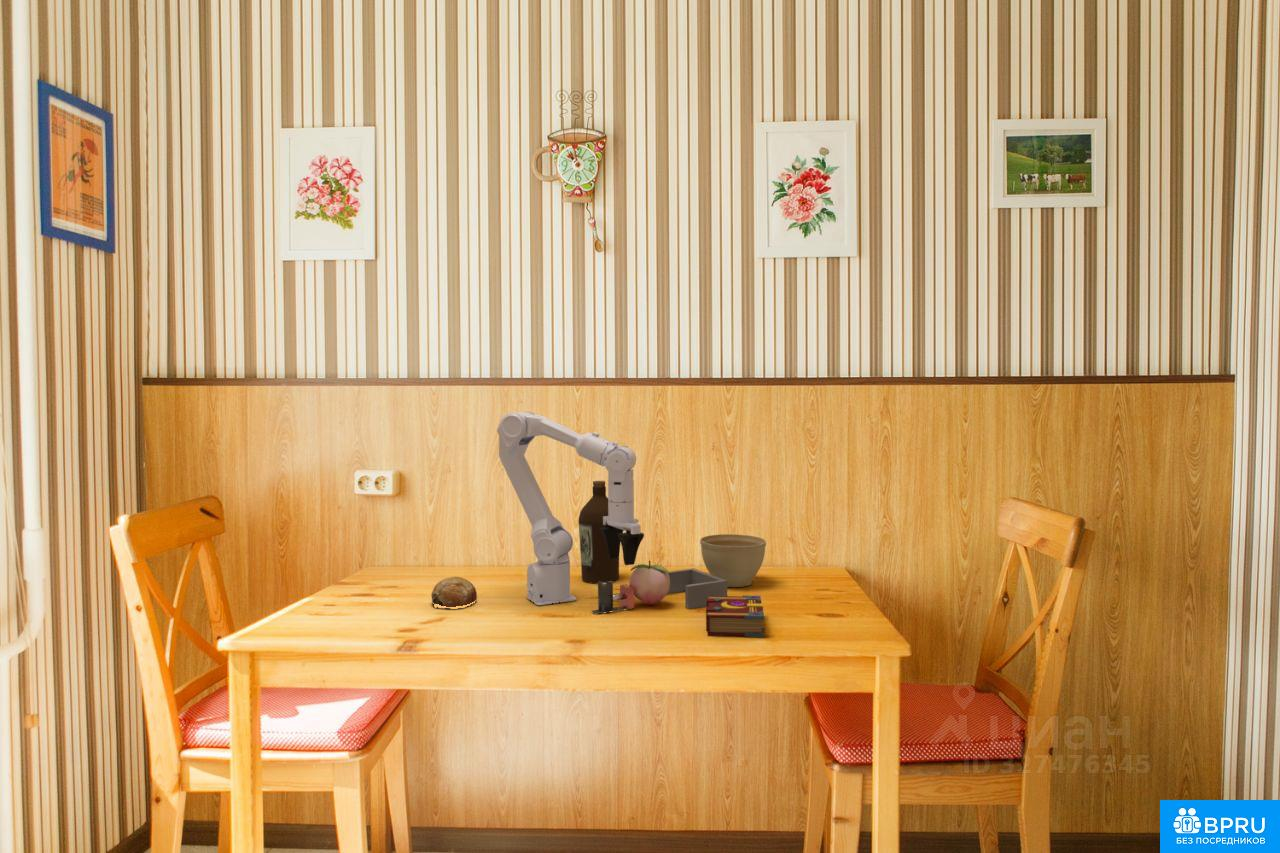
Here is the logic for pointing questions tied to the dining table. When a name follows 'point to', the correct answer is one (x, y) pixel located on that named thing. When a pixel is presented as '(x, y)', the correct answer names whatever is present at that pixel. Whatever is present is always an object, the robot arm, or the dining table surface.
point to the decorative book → (735, 616)
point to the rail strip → (612, 610)
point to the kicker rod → (614, 595)
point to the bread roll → (454, 592)
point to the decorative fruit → (650, 583)
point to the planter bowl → (733, 557)
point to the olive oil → (596, 539)
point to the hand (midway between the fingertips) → (621, 561)
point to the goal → (696, 586)
